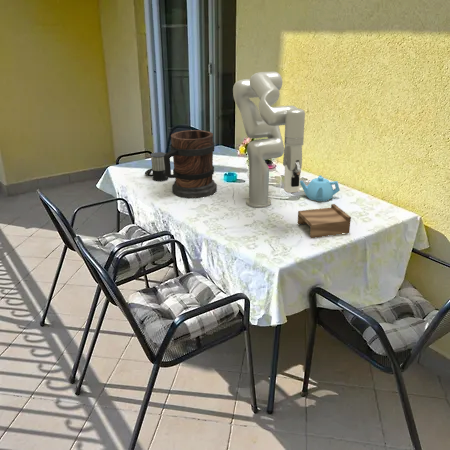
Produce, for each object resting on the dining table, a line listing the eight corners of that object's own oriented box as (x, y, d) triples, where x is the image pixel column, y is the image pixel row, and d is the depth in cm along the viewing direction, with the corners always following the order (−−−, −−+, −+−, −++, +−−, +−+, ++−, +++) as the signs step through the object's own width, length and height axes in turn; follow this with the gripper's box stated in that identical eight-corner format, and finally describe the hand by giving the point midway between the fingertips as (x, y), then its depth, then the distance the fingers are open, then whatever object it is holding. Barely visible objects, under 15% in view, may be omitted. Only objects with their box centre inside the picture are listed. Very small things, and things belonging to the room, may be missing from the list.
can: (289, 187, 184) (290, 159, 179) (302, 190, 180) (304, 162, 175) (280, 191, 179) (281, 163, 174) (294, 194, 175) (295, 165, 170)
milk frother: (165, 182, 243) (163, 156, 237) (139, 180, 246) (136, 155, 240) (172, 174, 256) (171, 150, 250) (147, 173, 259) (145, 149, 252)
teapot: (318, 205, 209) (320, 184, 204) (297, 196, 220) (298, 176, 216) (340, 198, 216) (342, 178, 212) (319, 190, 228) (320, 170, 223)
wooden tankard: (225, 190, 230) (225, 134, 217) (183, 205, 211) (179, 145, 199) (196, 180, 245) (194, 127, 233) (154, 193, 227) (149, 137, 214)
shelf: (297, 223, 190) (298, 207, 187) (332, 219, 193) (334, 204, 190) (311, 238, 176) (312, 221, 173) (349, 233, 180) (350, 217, 177)
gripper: (278, 136, 178) (277, 178, 185) (292, 146, 163) (290, 191, 170) (295, 135, 179) (293, 177, 187) (311, 145, 164) (308, 189, 171)
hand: (292, 183), depth 178 cm, fingers closed on can, 6 cm apart
